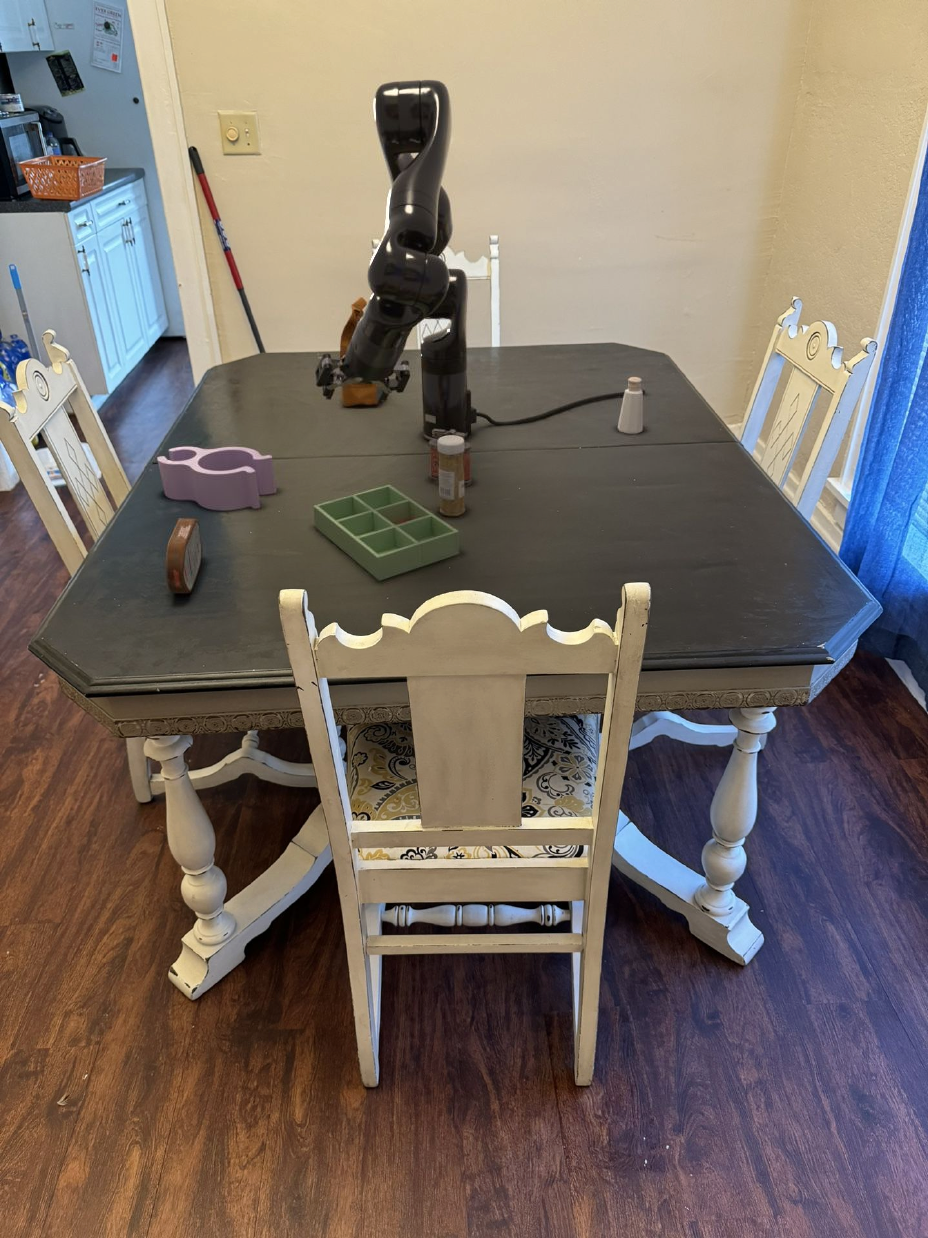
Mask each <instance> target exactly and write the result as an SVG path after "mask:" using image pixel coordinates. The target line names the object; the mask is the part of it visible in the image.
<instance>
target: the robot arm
mask: <svg viewBox="0 0 928 1238" xmlns="http://www.w3.org/2000/svg"><path fill="white" fill-rule="evenodd" d="M373 114H374V124H375V128H376V132H377V137H378V140H379V144H380V148H381V152H382V155H383V159H384V162H385V165H386V169H387V172H388V175H389V176H388V177H389V180H390V184H391V187H390V190H389V192H388V196H387V200H386V211H385V223H384V231H383V234H382V238H381V240H380V241H379V244H378V245H377V247H376V248H375V251H374V253H373V255H372V257H371V259H370V261H369V262H370V263H369V264H368V268H367V274H366V275H367V277H366V279H367V283H368V286H369V288H370V291H371V292H372V295H371V296H370V298H369V300H368V301H367V305H366V306H365V310H364V311H363V312H364V314H363V317H362V318H361V319H360V321H359V322H358V324H357V327H356V329H355V332H354V334H353V336H352V339H351V341H350V344H349V346H348V349H347V352H346V355H345V356H344V357H342V358H341V359H340V358H339V359H337V358H332V355H331V354H330V353H324V354H323V355H322V356H321V358H320V360H319V363H318V365H317V367H316V369H315V370H314V373H315V385H316V387H318V388H322V396H323V397H325V399H326V400H329V401H331V400H332V398H333V395H334V393H335V391H336V389H337V388H338V387H340V388H341V387H346V386H348V385H350V384H352V383H365V384H372V383H373V384H375V385H376V386H377V387H378V389H377V391H376V399H377V403H378V404H382V403H383V401H386V400H387V399H388V397H389V395H390V394H392V393H393V392H394V391H396V393H398V394H401V393H404V391H405V389H406V387H407V385H408V383H409V381H410V378H411V369H410V362H409V360H401V362H400V364H397V363H398V361H399V360H400V357H401V356H402V354H403V353H404V350H405V348H406V344H407V340H408V338H409V336H410V334H411V332H412V330H413V329H414V327H416V326H417V325H419V324H420V323H421V322H422V321H424V320H448V321H449V322H450V323H449V324H448V325H447V326H446V327H445V328H443V329H441V330H438V331H437V332H433V333H431V334H428V335H426V336H424V337H423V338H422V339H421V342H420V369H421V396H422V397H421V399H422V424H423V426H422V429H423V430H422V436H423V438H424V439H425V440H427V441H431V440H434V439H439V438H437V437H433V436H432V431H433V430H434V429H440V430H445V431H450V430H451V429H454V430H456V432H459V433H464V434H465V439H466V438H468V436H471V435H472V424H476V423H477V421H478V419H477V417H480V418H483V419H485V420H487V422H488V423H490V424H491V425H493V426H498V427H500V426H501V427H502V426H514V425H519V424H524V423H528V422H532V421H537V420H540V419H543V418H546V417H548V416H551V415H553V414H556V413H560V412H562V411H565V410H567V409H570V408H573V407H576V406H580V405H583V404H586V403H590V402H595V401H599V400H603V399H610V398H615V397H616V398H617V397H624V393H625V391H619V392H613V393H607V394H601V395H596V396H592V397H588V398H584V399H580V400H576V401H574V402H571V403H567V404H565V405H562V406H559V407H557V408H554V409H551V410H548V411H545V412H544V413H540V414H538V415H533V416H528V417H525V418H524V417H523V418H521V419H516V420H512V421H496V420H494V419H492V418H491V417H490V416H489V415H488V414H486V413H483V412H479V411H477V408H475V407H472V391H471V390H470V389H468V354H467V353H468V346H467V345H468V344H467V342H468V341H467V321H468V319H467V318H468V317H467V316H468V302H469V301H468V299H469V298H468V297H469V286H468V285H469V282H468V277H467V274H466V271H464V270H463V269H461V268H449V267H448V265H447V263H446V261H444V260H443V259H442V258H441V257H440V256H441V255H442V254H443V252H445V250H446V248H447V247H448V245H449V244H450V241H451V239H452V236H453V230H454V225H453V217H452V207H451V200H450V197H449V195H448V193H447V191H446V189H445V188H444V187H443V185H442V182H443V179H444V173H445V170H446V165H447V161H448V156H449V155H448V154H449V151H450V145H451V139H452V132H453V131H452V130H453V125H452V124H453V115H452V104H451V97H450V93H449V90H448V88H447V86H446V84H445V83H443V82H442V81H440V80H436V79H422V80H420V79H418V80H401V81H400V80H399V81H391V82H386V83H382V84H381V85H380V86H379V87H377V89H376V92H375V95H374V99H373ZM412 154H417V155H416V156H415V157H414V156H413V155H412ZM393 374H395V376H394V378H391V377H392V376H393ZM345 376H346V377H347V378H346V379H345ZM335 378H336V379H335ZM641 390H642V392H643V395H644V394H646V390H645V389H641Z"/></svg>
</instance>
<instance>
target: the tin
mask: <svg viewBox="0 0 928 1238" xmlns="http://www.w3.org/2000/svg"><path fill="white" fill-rule="evenodd" d="M200 526H201V524H200V521H199V520H198V519H196V518H183V517H179V518H178V520H177V522H176V524H175V526H174V529H173V531H172V534H171V536H170V538H169V539H168V543H167V548H166V555H165V574H166V582H167V586H168V589H169V592H170V593H171V594H172V595H175V594H190V593H191V592H192V590H193V588H194V585H195V583H196V580H197V577H198V575H199V571H200V569H201V566H202V565H201V564H202V558H203V543H202V538H201V531H200Z"/></svg>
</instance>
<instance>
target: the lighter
mask: <svg viewBox="0 0 928 1238" xmlns="http://www.w3.org/2000/svg"><path fill="white" fill-rule="evenodd" d="M448 435H455V436H460V437H462V438H463V439H464V440H465V439H466V438H465V434H464V433H459V432H456V430H454V429H451V430H450V431H445V430H440V429H434V430H433V431H432V436H433V437H437V438H441V437H443V436H448ZM428 441H429V440H428ZM437 441H438V439H434V440H431V441H429V442H428V447H429V455H430V457H429V458H430V459H429V461H430V474H429V480H430V482H432V483H436V484H439V453H438V452H439V451H438V448H437ZM464 445H465V449H464V453H463V461H464V462H463V466H464V487H467V486H470V485H471V484H472V477H471V450H472V444H471V443H469V442H465V441H464Z"/></svg>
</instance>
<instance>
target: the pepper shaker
mask: <svg viewBox="0 0 928 1238" xmlns="http://www.w3.org/2000/svg"><path fill="white" fill-rule="evenodd" d="M642 381H643V379H642V378H640V377H639V376H631V377H629V378H628V379H627V382H628V383H627V388H626V389H625V390H624V392H625V393H624V396H622V397H623V398H622V403H621V409H620V413H619V418H618V423H617V429H618V431H619V432H620V433H623V434H627V435H636V434H637V435H638V434H639V433H641V432H643V430H644V429H643V428H644V427H643V426H644V425H643V424H644V422H643V421H644V418H643V417H644V414H643V413H644V412H643V411H644V407H643V406H644V394H643V392H642V390H643V389H641V387H642Z"/></svg>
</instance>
